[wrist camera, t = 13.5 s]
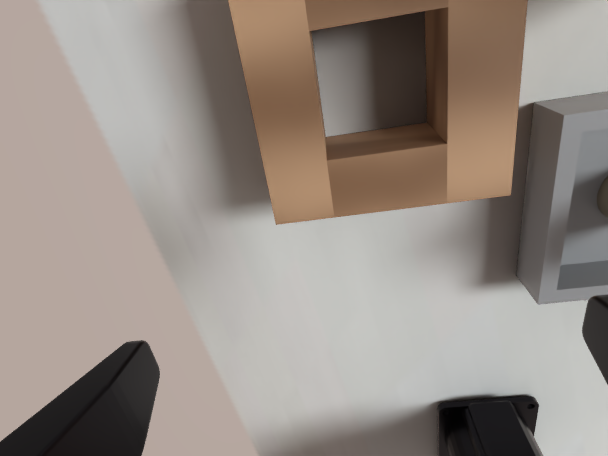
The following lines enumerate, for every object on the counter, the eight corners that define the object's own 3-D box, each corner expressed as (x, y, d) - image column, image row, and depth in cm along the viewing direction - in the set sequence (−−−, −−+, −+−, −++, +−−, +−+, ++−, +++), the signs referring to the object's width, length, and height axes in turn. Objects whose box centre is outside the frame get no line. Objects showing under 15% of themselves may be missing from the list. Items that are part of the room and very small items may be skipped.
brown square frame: (481, 166, 20) (510, 195, 17) (282, 193, 21) (275, 224, 18) (493, -81, 15) (536, -105, 12) (237, -32, 16) (219, -42, 13)
